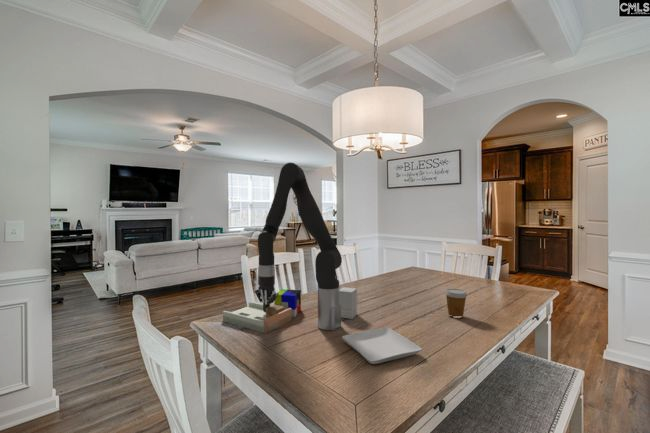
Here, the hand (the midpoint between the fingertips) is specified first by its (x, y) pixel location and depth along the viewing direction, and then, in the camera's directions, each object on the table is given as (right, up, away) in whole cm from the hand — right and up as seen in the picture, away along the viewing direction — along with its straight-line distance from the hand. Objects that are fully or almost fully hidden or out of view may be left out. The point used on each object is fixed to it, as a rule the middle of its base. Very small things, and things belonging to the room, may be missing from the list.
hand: (266, 311), depth 140 cm
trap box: (-4, -4, -1) cm, 5 cm away
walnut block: (+5, -1, -3) cm, 5 cm away
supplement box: (+38, -4, +5) cm, 38 cm away
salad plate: (+47, -5, -30) cm, 56 cm away
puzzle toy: (+9, -4, +10) cm, 14 cm away
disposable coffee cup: (+89, -4, +4) cm, 89 cm away
